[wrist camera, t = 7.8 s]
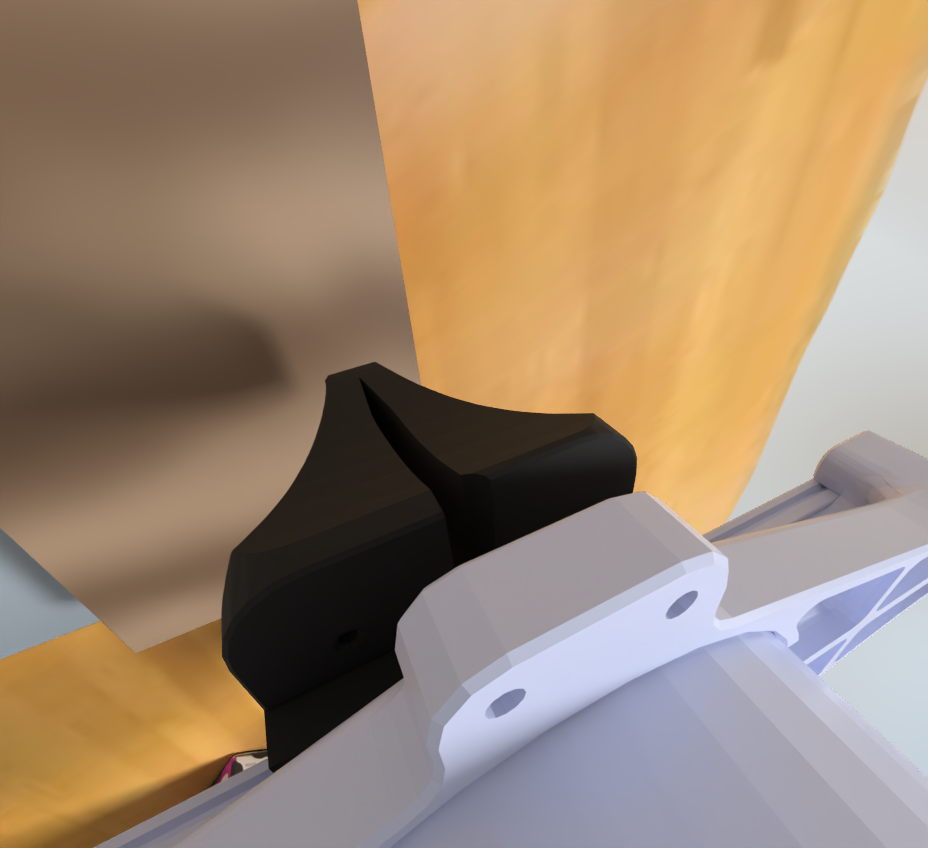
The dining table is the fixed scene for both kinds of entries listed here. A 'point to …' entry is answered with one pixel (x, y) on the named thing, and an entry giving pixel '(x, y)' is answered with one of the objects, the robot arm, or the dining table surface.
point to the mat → (33, 602)
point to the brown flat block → (180, 282)
